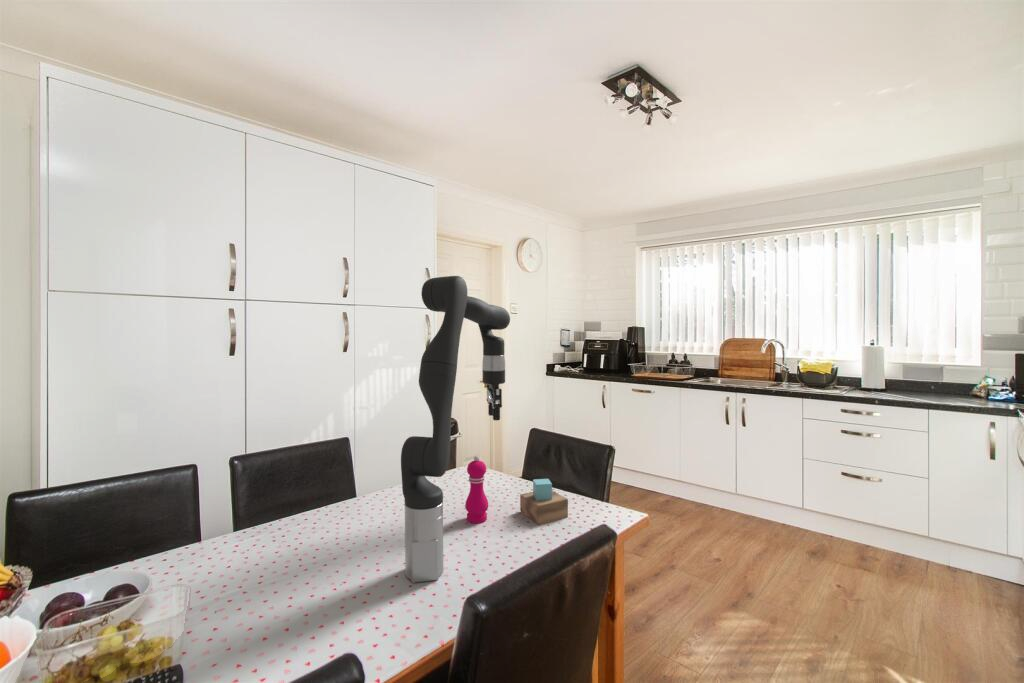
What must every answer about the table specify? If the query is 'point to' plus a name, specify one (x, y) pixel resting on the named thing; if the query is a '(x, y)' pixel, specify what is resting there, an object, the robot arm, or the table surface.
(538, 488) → the teal cube
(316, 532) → the table surface
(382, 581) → the table surface
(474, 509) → the pepper mill
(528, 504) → the walnut box
